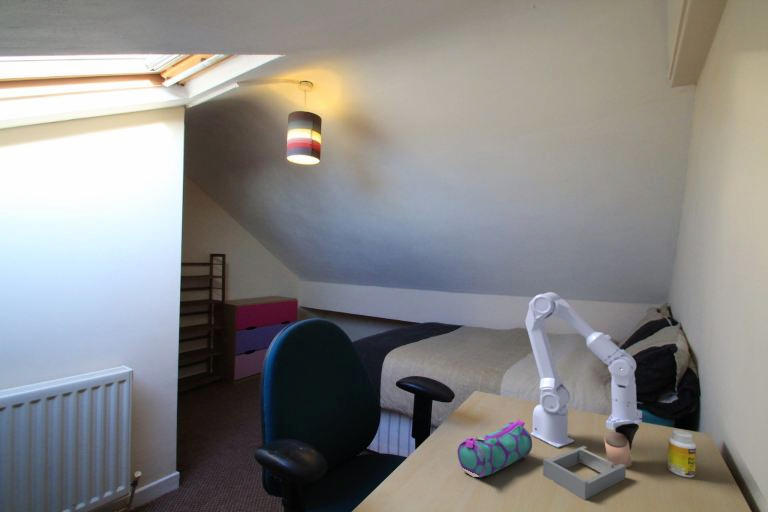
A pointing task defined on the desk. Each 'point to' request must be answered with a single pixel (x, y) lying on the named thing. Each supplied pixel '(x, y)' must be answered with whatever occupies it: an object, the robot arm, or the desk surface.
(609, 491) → the desk surface
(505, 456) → the pencil case
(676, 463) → the supplement bottle
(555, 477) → the grey rectangular frame
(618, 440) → the jar
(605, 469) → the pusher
